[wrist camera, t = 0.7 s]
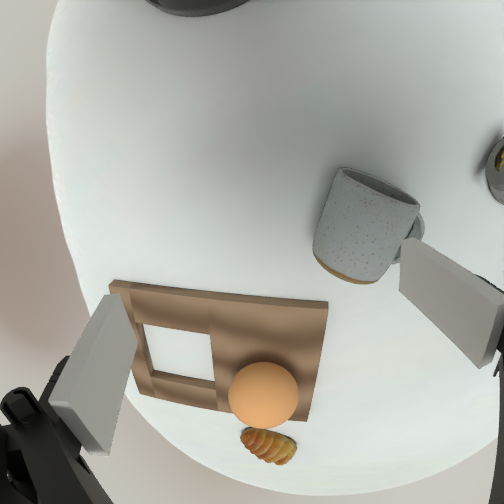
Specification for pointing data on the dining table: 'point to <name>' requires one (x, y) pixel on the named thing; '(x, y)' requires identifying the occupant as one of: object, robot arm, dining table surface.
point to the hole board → (226, 340)
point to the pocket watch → (496, 171)
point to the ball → (263, 395)
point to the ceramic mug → (364, 227)
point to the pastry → (268, 445)
